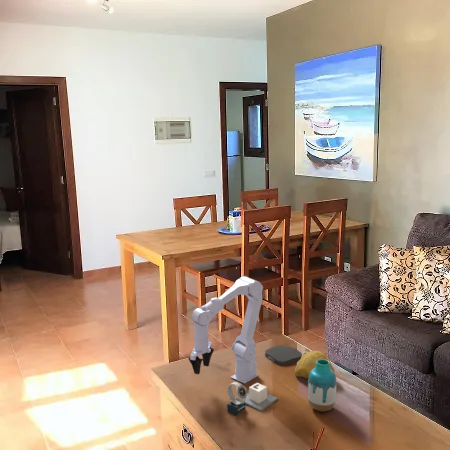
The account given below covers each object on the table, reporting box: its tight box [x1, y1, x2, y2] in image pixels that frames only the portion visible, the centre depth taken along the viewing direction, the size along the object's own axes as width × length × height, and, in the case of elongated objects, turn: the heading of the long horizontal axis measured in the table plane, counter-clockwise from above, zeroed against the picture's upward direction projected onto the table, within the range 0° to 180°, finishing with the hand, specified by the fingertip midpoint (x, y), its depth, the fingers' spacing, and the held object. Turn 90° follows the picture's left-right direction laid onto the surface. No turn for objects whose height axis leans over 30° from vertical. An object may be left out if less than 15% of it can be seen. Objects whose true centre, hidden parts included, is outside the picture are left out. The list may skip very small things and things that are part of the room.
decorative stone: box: [294, 350, 335, 379], centre depth 213 cm, size 13×15×15 cm
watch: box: [226, 381, 248, 416], centre depth 188 cm, size 6×8×11 cm
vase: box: [307, 359, 337, 412], centre depth 189 cm, size 11×11×19 cm
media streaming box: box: [264, 345, 303, 366], centre depth 234 cm, size 15×15×3 cm
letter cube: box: [248, 382, 268, 404], centre depth 195 cm, size 5×5×5 cm
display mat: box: [244, 392, 278, 412], centre depth 196 cm, size 11×11×1 cm
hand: (201, 369), depth 202 cm, fingers open, 7 cm apart
